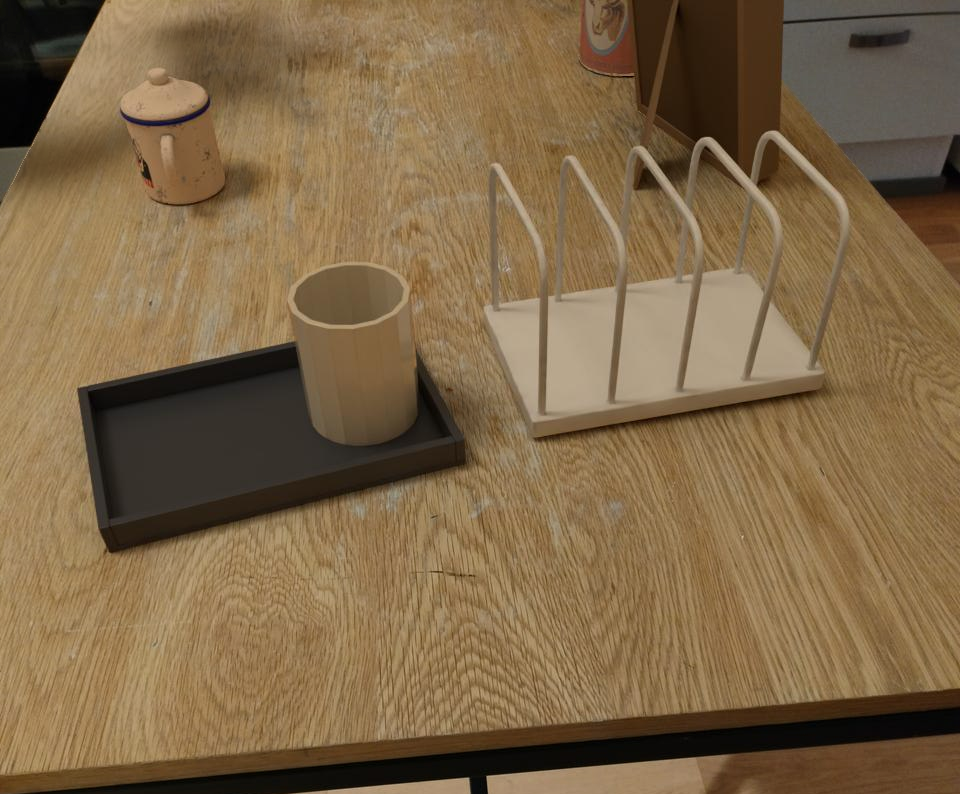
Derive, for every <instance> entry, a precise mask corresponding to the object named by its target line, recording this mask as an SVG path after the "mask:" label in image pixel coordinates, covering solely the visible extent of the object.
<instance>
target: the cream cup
mask: <svg viewBox="0 0 960 794" xmlns="http://www.w3.org/2000/svg"><path fill="white" fill-rule="evenodd" d="M286 298H287V299H286V304H287V308H288V312H289V313H288V314H289V319H290V325H291V330H292V335H293V341H295V346H296V351H297V356H298V361H299V366H300V372H301V377H302V382H303V387H304V392H305V398H306V403H307V408H308V413H309V416H310V419H311V423H312V425H313V427H314V428H315V429H316V431H317V432H319V433H320V434H321V435H322V436H324V437H325V438H327V439H329V440H331V441H334V442H337V443H340V444H345V445H353V446H366V445H374V444H379V443H383V442H386V441H389V440H391V439H394V438H396V437H398V436H400V435H401V434H403V433H404V432H406V431H407V430H408V429H409V428H410V427H411V426H412V425H413V424H414V422H415V421H416V419H417V417H418V413H419V403H420V401H419V388H418V376H417V363H416V351H415V349H416V340H415V327H414V315H413V314H414V313H413V302H412V291H411V287H410V285H409V283H408V281H407V280H406V278H405V276H404V275H402V274H401V273H400V272H397V271H396V270H395V269H393V268H391V267H390V266H387V265H383V264H378V263H374V262H370V261H342V262H336V263H332V264H326V265H323V266H320V267H318V268H316V269H314V270H311V271H309V272H307V273H305V274H303V275H302V276H301V277H300V278H299V279H298V280H296V281H295V282H294V283H293V284H292V285H291V287H290V289H289V292H288V295H287V297H286Z"/></svg>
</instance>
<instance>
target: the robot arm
mask: <svg viewBox="0 0 960 794" xmlns="http://www.w3.org/2000/svg"><path fill="white" fill-rule="evenodd" d="M57 1H58V4H59V6H67V5H68V1H67V0H57Z"/></svg>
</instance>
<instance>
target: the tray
mask: <svg viewBox="0 0 960 794" xmlns="http://www.w3.org/2000/svg"><path fill="white" fill-rule="evenodd" d="M415 351H416V363H417V376H418V388H419V401H420V403H419V413H418V417H417V419H416V421H415V422H414V424H413V425H412V426H411V427H410V428H409V429H408V430H407V431H406V432H404V433H403V434H401V435H400V436H398V437H396V438H394V439H391V440H389V441H386V442H383V443H379V444H374V445H366V446H353V445H345V444H340V443H337V442H334V441H331V440H329V439H327V438H325V437H324V436H322V435H321V434H320V433H319V432H317V431H316V429H315V428H314V427H313V425H312V423H311V419H310V416H309V413H308V408H307V403H306V398H305V392H304V387H303V382H302V377H301V372H300V366H299V361H298V356H297V351H296V346H295V340H293V341H290V342H283V343H280V344H275V345H269V346H265V347H261V348H256V349H252V350H247V351H242V352H237V353H232V354H228V355H223V356H219V357H215V358H209V359H205V360H199V361H195V362H192V363H186V364H181V365H178V366H173V367H168V368H162V369H158V370H154V371H150V372H149V371H148V372H145V373H144V372H143V373H140V374H135V375H131V376H126V377H121V378H117V379H111V380H107V381H103V382H102V381H101V382H97V383H94V384H88V385H84V386H80V387H77V388H76V392H77V397H78V405H79V411H80V417H81V424H82V430H83V437H84V444H85V450H86V456H87V463H88V469H89V475H90V482H91V488H92V495H93V502H94V507H95V508H94V509H95V514H96V515H95V516H96V521H97V527H98V528H97V529H98V531H99V533H100V535H101V538H102V539H103V542H104V544H105V546H106V549H107V551H108V553H113V552H118V551H121V550H125V549H128V548H133V547H138V546H141V545H144V544H149V543H152V542H158V541H160V540H165V539H168V538H172V537H176V536H180V535H184V534H189V533H194V532H197V531H200V530H205V529H209V528H213V527H217V526H220V525H224V524H225V525H226V524H228V523H233V522H238V521H241V520H245V519H248V518H252V517H256V516H261V515H264V514H269V513H272V512H277V511H281V510H284V509H288V508H292V507H296V506H300V505H301V506H302V505H304V504H309V503H312V502H317V501H320V500H324V499H328V498H333V497H337V496H340V495H345V494H349V493H352V492H356V491H360V490H364V489H368V488H372V487H376V486H381V485H385V484H389V483H391V482H396V481H400V480H405V479H408V478H412V477H416V476H420V475H425V474H428V473H433V472H436V471H441V470H444V469H449V468H452V467H455V466H456V467H457V466H460V465H464V464H466V463H467V456H466V455H467V454H466V453H467V452H466V451H467V450H466V439H465V436H464V434H463V433H462V431H461V429H460V427H459V426H458V424H457V422H456V420H455V418H454V416H453V414H452V413H451V411H450V409H449V407H448V405H447V403H446V402H445V399H444V398H443V397H442V395H441V393H440V391H439V389H438V387H437V385H436V383H435V382H434V380H433V378H432V376H431V374H430V373H429V370H428V369H427V367H426V365H425V364H424V362H423V360H422V358H421V356H420V354H419V352H418V350H417V348H415Z"/></svg>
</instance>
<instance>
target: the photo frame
mask: <svg viewBox="0 0 960 794" xmlns="http://www.w3.org/2000/svg"><path fill="white" fill-rule="evenodd" d="M627 3H628V14H629V25H630V36H631V47H632V57H633V68H634V77H633V78H634V89H635V99H636V109H637V110H638V111H640V112H641V113H642V114H644V115H645V116H646V117H645V121H644V125H643V131H642V135H641V139H640V144H639V146H643V147H644V148H646V150H647V151H648V150H649V146H650V141H651V136H652V132H653V127H654V125H655V124H656V126H657V125H658V126H659V127H658V126H657V127H658V128H660V129H661V130H662V131H663V132H665V133H666V132H667V133H666V134H668V135H669V136H670V137H672V138H673V139H675V141H677V142H678V143H680V144H681V145H683V146H684V147H686V149H688V150H690V151H691V152H693V150H694V147H695V145H696V143H697V142H698V141H699V140H700V139H701V138H705V137H711V138H713V139H714V140H715V141H716V142H717V143H718V144H719V145H720V146H721V147H722V148H723V150H724V151H725V152H726V153H727V154H728V155H729V156H730V157H731V159H732V160H733V161H734V162H735V163H736V164H737V165H738V166H739V168H740V169H741V170H742V171H743V172H744V173H745V174H746V176H747V177H748V178H749V179H750V178H751V173H752V167H753V162H754V157H755V152H756V148H757V145H758V142H759V140H760V138H761V136H762V135H763V134H764V133H766V132H768V131H778V132H779V133H780V134H781V114H782V113H781V112H782V111H781V110H782V107H781V106H782V81H783V79H782V75H783V45H784V44H783V43H784V12H785V11H784V10H785V0H627ZM637 110H636V111H637ZM638 111H637V112H638ZM642 114H641V115H642ZM653 122H654V123H655V124H654V123H653ZM700 159H702V160H704V162H706V163H707V164H710V166H712V167H714V168H715V169H716V170H717V171H718V172H720V173H722V175H724V176H726V177H727V178H729V180H731V181H733V182H734V183H735V184H737V185H738V186H740V187H741V188H742V189H744V188H743V187H742V186H741V184H740V183H739V182H738V181H737V180H736V178H735V177H734V176H733V175H732V174H731V172H729V171H728V169H727V168H726V167H725V166H724V165H723V163H722V162H721V161H720V160H719V159H718V158H717V157H716V156H715V154H714V153H713V152H712V151H711V150H710V149H709V148H708V147H707V146H705V147H704V148H703V149H702V152H701V155H700ZM644 165H645V163H644V161H643V160H642V159H641V158H640V156H639V155H638V156H637V158H636V161H635V165H634V172H633V185H632V189H633V188H634V189H638V187H639V183H640V181H641V177H642V173H643V168H644ZM779 170H780V147H779V146H778V145H777V144H776V143H775V142H774V141H773V140H771V139H770V140H769V141H768V142H767V143H766V146H765V148H764V152H763V156H762V161H761V166H760V171H759V176H758V182H760V181H762V180H764V179H766V178H767V177H770V176H771V175H773V174H775V173H777V172H779Z"/></svg>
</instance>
